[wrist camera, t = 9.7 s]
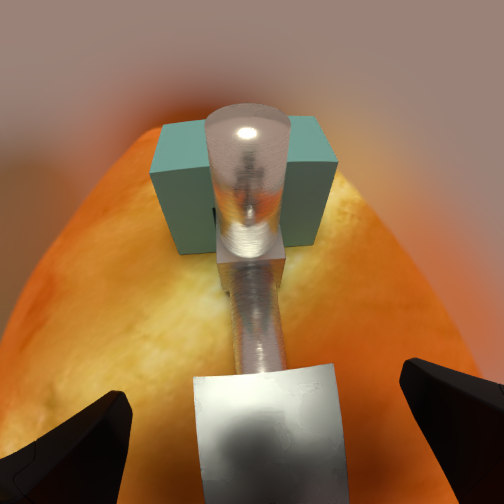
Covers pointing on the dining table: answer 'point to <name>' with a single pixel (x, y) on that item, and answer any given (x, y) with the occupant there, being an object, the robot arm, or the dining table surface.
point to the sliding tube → (250, 226)
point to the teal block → (201, 192)
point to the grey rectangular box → (271, 438)
